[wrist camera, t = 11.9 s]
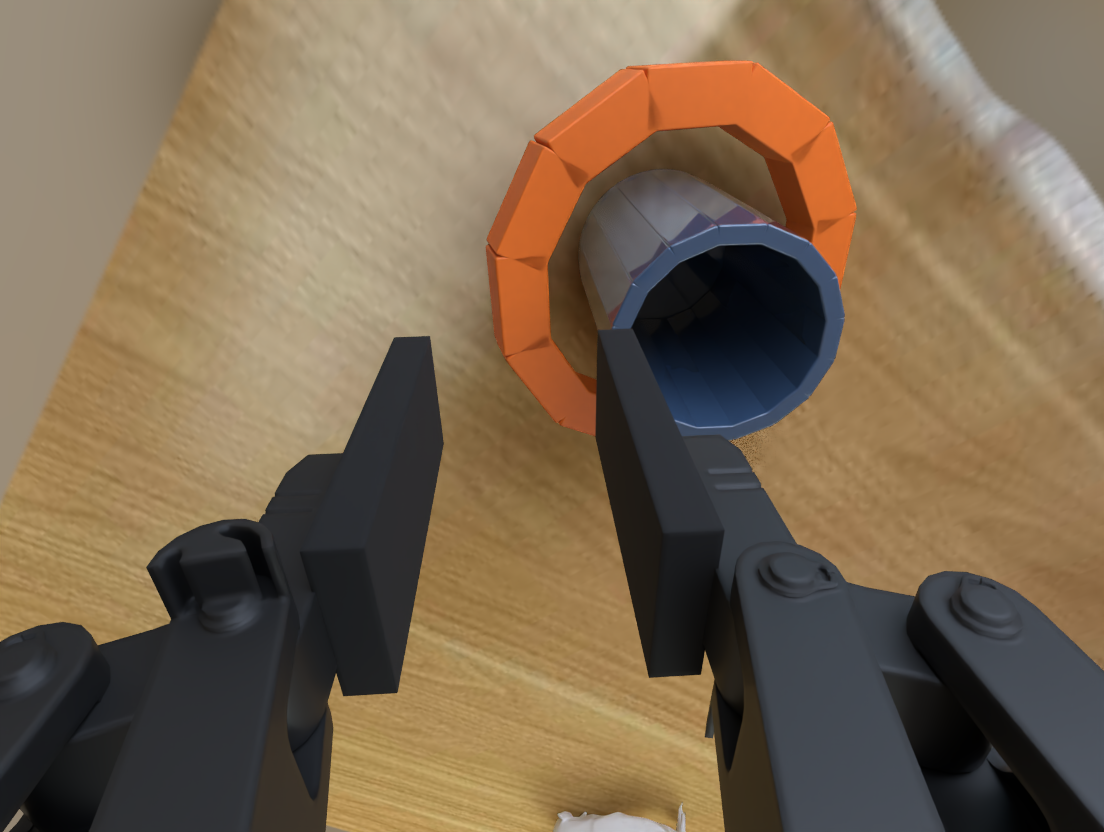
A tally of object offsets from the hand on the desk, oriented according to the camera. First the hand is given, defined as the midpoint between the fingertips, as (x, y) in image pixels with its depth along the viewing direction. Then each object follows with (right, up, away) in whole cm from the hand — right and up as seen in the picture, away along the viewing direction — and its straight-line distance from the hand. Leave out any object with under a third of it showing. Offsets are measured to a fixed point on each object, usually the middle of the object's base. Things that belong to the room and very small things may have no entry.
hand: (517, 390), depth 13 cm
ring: (+5, +4, +8) cm, 10 cm away
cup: (+5, +6, +10) cm, 12 cm away
